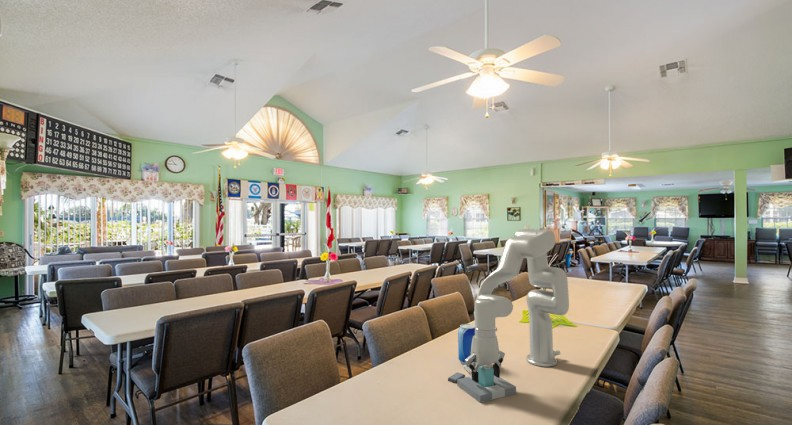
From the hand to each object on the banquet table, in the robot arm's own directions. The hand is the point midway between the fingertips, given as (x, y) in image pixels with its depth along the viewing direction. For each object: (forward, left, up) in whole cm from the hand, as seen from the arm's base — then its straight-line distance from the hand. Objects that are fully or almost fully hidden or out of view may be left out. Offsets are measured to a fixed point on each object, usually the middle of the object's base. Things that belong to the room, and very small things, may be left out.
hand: (485, 378), depth 131 cm
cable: (-3, -15, -4) cm, 16 cm away
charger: (0, 0, -4) cm, 4 cm away
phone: (+5, -12, -4) cm, 14 cm away
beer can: (-9, -24, -4) cm, 26 cm away
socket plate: (0, 0, -4) cm, 4 cm away
